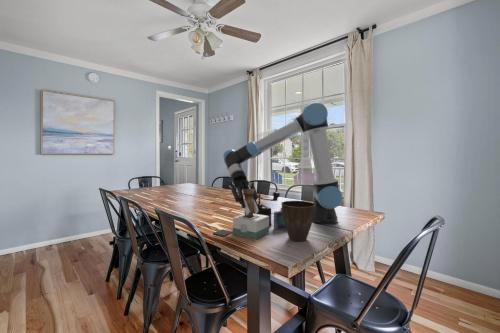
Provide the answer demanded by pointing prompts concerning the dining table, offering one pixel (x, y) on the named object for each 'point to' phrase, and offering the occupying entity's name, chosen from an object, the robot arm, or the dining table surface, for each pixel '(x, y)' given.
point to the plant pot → (298, 218)
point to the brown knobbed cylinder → (249, 201)
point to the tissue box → (251, 225)
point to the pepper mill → (264, 209)
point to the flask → (279, 220)
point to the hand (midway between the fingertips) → (252, 212)
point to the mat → (223, 232)
